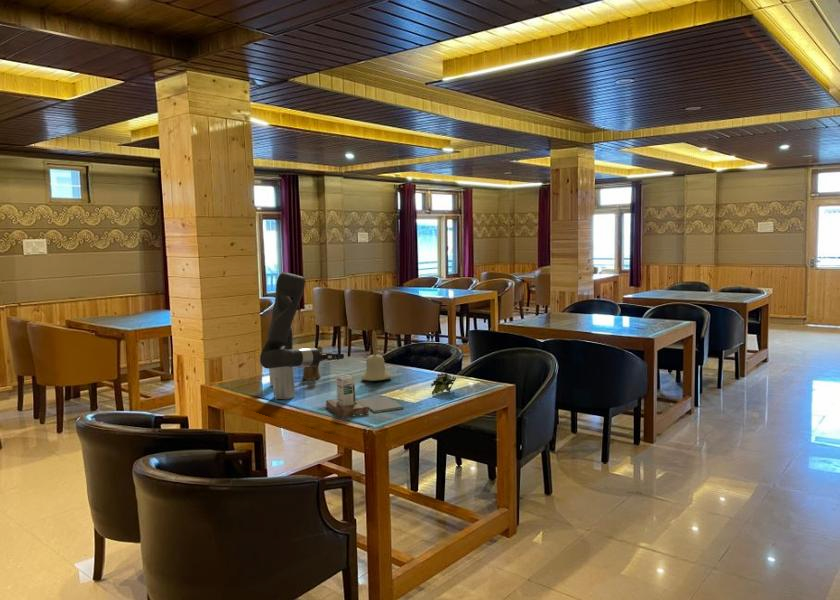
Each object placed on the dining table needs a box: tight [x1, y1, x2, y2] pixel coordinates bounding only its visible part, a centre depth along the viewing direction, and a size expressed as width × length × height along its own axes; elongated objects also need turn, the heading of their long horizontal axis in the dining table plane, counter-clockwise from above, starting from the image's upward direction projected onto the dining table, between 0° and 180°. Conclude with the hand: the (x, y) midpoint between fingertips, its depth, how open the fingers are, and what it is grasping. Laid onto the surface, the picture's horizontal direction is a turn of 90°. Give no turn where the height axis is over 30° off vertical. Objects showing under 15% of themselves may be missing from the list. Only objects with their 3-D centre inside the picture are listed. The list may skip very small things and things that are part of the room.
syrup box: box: [335, 374, 356, 407], centre depth 267 cm, size 6×6×14 cm
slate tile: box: [358, 396, 404, 413], centre depth 274 cm, size 13×20×1 cm, turn 24°
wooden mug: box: [302, 346, 324, 381], centre depth 330 cm, size 9×14×18 cm, turn 43°
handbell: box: [360, 331, 392, 382], centre depth 323 cm, size 15×15×25 cm
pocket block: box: [325, 397, 369, 419], centre depth 268 cm, size 12×20×3 cm, turn 24°
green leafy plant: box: [430, 372, 457, 396], centre depth 290 cm, size 11×11×12 cm
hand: (336, 356), depth 270 cm, fingers open, 8 cm apart
